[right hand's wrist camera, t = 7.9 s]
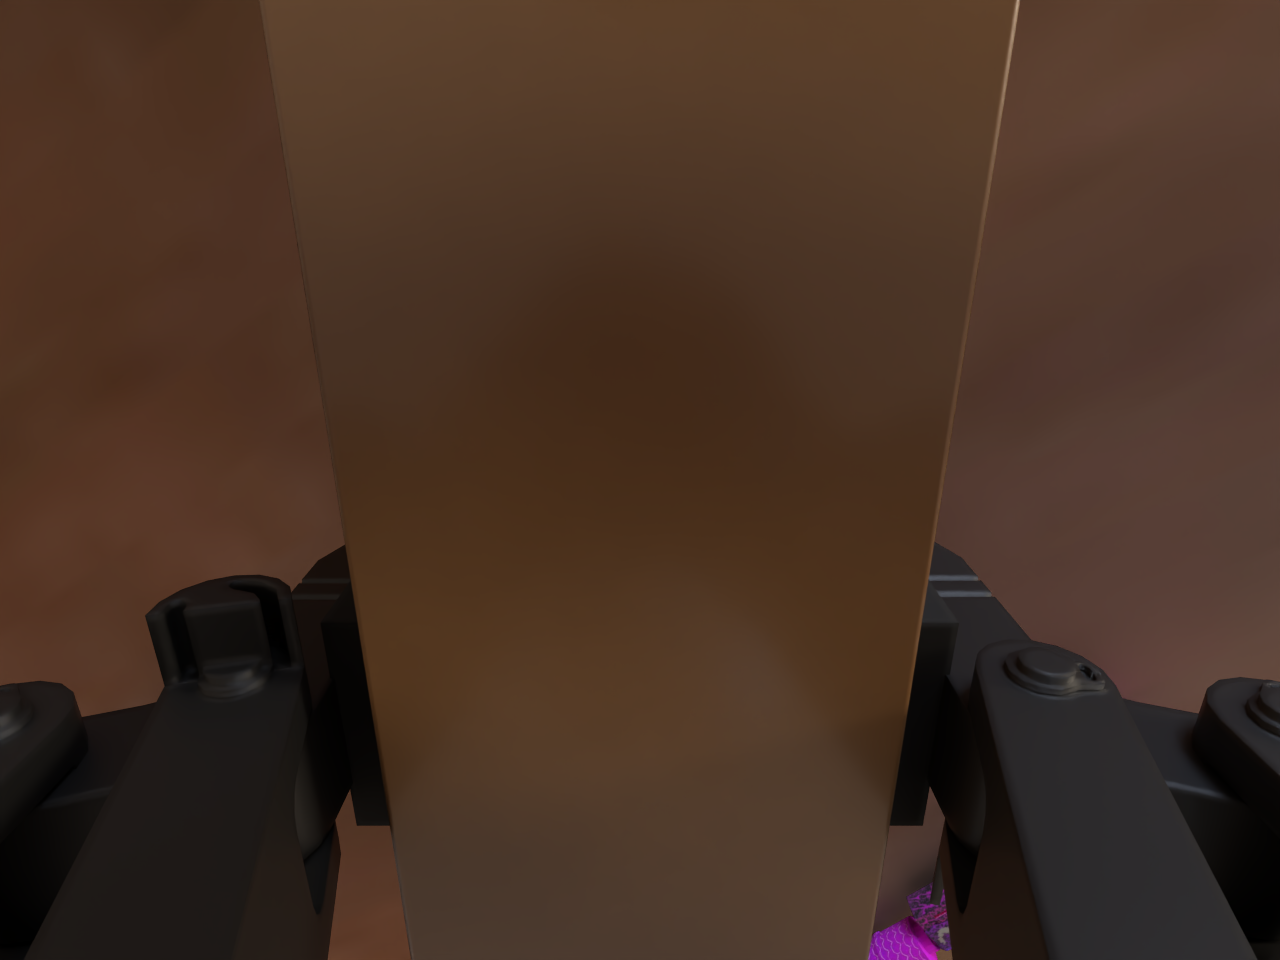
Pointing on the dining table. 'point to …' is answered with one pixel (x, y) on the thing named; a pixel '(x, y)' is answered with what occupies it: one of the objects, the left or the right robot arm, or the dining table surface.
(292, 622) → the right robot arm
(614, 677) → the bar
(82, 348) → the dining table surface
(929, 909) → the handgun
